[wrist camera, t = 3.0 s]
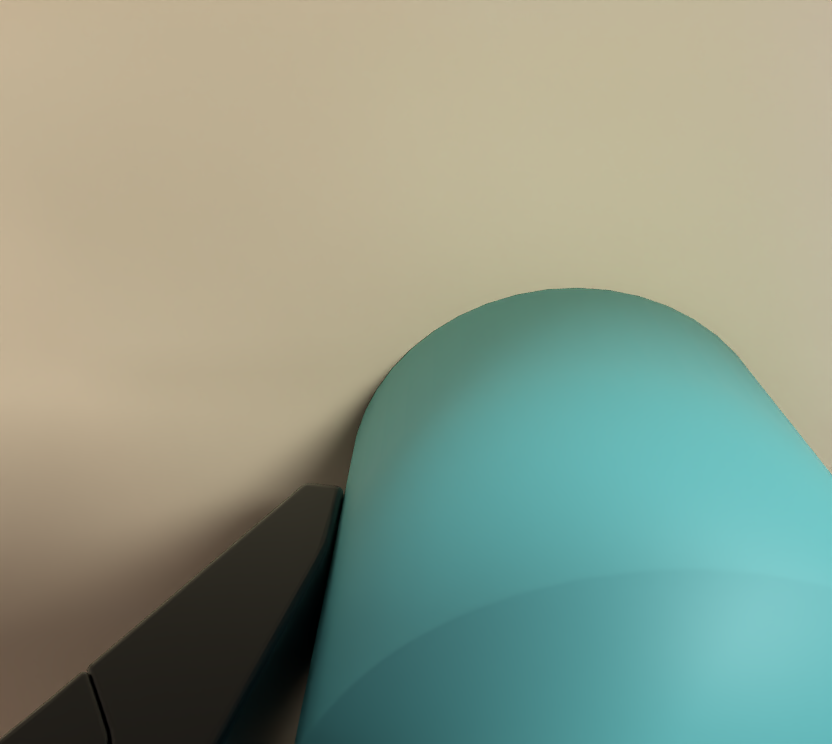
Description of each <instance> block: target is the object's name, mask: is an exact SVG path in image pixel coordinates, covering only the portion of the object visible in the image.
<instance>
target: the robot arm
mask: <svg viewBox="0 0 832 744" xmlns="http://www.w3.org/2000/svg"><path fill="white" fill-rule="evenodd" d="M343 499H344V493H343V490H342V489H341V488H340V487H338V486H330V485H319V484H305V485H303V486H302V487H300V488H299V489H298V490H297V491H296V492H294V493H293V494H292V495H291V496H290V497H288V498H287V499H286V500H285V501H284V502H283V503H281V504H280V505H279V506H278V507H277V508H275V509H274V510H273V511H272V512H271V513H270V514H268V515H267V516H266V517H265V518H264V519H262V520H261V521H260V522H259V523H258V524H257V525H255V526H254V527H253V528H252V529H251V530H249V531H248V532H247V533H246V534H245V535H244V536H242V537H241V538H240V539H239V540H238V541H236V542H235V543H234V544H233V545H232V546H231V547H229V548H228V549H227V550H226V551H225V552H223V553H222V554H221V555H220V556H219V557H218V558H216V559H215V560H214V561H213V562H212V563H210V564H209V565H208V566H207V567H206V568H204V569H203V570H202V571H201V572H200V573H199V574H197V575H196V576H195V577H194V578H193V579H191V580H190V581H189V582H188V583H187V584H186V585H184V586H183V587H182V588H181V589H180V590H178V591H177V592H176V593H175V594H174V595H173V596H171V597H170V598H169V599H168V600H167V601H165V602H164V603H163V604H162V605H161V606H160V607H158V608H157V609H156V610H155V611H154V612H152V613H151V614H150V615H149V616H148V617H147V618H145V619H144V620H143V621H142V622H141V623H139V624H138V625H137V626H136V627H135V628H134V629H132V630H131V631H130V632H129V633H128V634H126V635H125V636H124V637H123V638H122V639H121V640H119V641H118V642H117V643H116V644H115V645H113V646H112V647H111V648H110V649H109V650H107V651H106V652H105V653H104V654H103V655H102V656H100V657H99V658H98V659H97V660H96V661H94V662H93V663H92V664H91V665H90V666H89V667H88V670H87V672H88V673H86V672H82V673H80V674H79V675H77V676H76V677H75V678H74V679H73V680H71V681H70V682H69V683H68V684H67V685H66V686H64V687H63V688H62V689H61V690H60V691H58V692H57V693H56V694H55V695H54V696H53V697H51V698H50V699H49V700H48V701H46V702H45V703H44V704H43V705H41V706H40V707H39V708H38V709H37V710H35V711H34V712H33V713H32V714H30V715H29V716H28V717H27V718H25V719H24V720H23V721H22V722H20V723H19V724H18V725H17V726H15V727H14V728H13V729H12V730H10V731H9V732H8V733H7V734H5V735H4V736H3V737H2V738H0V744H294V743H295V738H296V733H297V728H298V723H299V718H300V713H301V708H302V703H303V698H304V693H305V688H306V683H307V678H308V673H309V668H310V663H311V658H312V653H313V648H314V643H315V638H316V634H317V629H318V624H319V619H320V614H321V609H322V604H323V599H324V594H325V589H326V584H327V579H328V574H329V569H330V564H331V559H332V554H333V549H334V544H335V539H336V534H337V529H338V524H339V519H340V514H341V509H342V504H343Z"/></svg>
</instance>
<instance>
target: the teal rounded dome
mask: <svg viewBox="0 0 832 744" xmlns="http://www.w3.org/2000/svg"><path fill="white" fill-rule="evenodd" d="M294 744H832V475H831V473H830V472H829V471H828V470H827V468H826V467H825V466H824V465H823V463H822V462H821V461H820V460H819V458H818V457H817V456H816V454H815V453H814V452H813V451H812V449H811V448H810V447H809V446H808V444H807V443H806V442H805V441H804V439H803V438H802V437H801V436H800V434H799V433H798V432H797V431H796V429H795V428H794V427H793V425H792V424H791V423H790V422H789V420H788V419H787V418H786V417H785V415H784V414H783V413H782V412H781V410H780V409H779V408H778V407H777V405H776V404H775V403H774V401H773V400H772V399H771V398H770V396H769V395H768V394H767V393H766V391H765V390H764V389H763V388H762V386H761V385H760V384H759V383H758V381H757V380H756V379H755V377H754V376H753V375H752V374H751V372H750V371H749V370H748V369H747V367H746V366H745V365H744V364H743V362H742V361H741V360H740V359H739V357H738V356H737V355H736V354H735V353H734V352H733V351H732V350H731V349H730V348H729V347H728V346H727V345H726V344H725V343H724V342H723V341H722V340H721V339H720V338H719V337H718V336H717V335H715V334H714V333H712V332H711V331H710V330H708V329H707V328H705V327H704V326H702V325H701V324H700V323H698V322H697V321H695V320H694V319H692V318H690V317H688V316H686V315H684V314H682V313H680V312H678V311H676V310H674V309H672V308H670V307H668V306H666V305H663V304H660V303H657V302H654V301H651V300H649V299H646V298H643V297H640V296H635V295H630V294H625V293H621V292H616V291H611V290H599V289H586V288H567V289H547V290H541V291H536V292H530V293H524V294H518V295H514V296H511V297H508V298H504V299H501V300H498V301H494V302H491V303H487V304H485V305H483V306H481V307H478V308H476V309H474V310H471V311H469V312H467V313H465V314H462V315H460V316H458V317H457V318H455V319H453V320H452V321H450V322H448V323H447V324H445V325H443V326H441V327H440V328H438V329H436V330H435V331H433V332H432V333H431V334H430V335H428V336H427V337H426V338H424V339H423V340H422V341H421V342H419V343H418V344H417V345H416V346H414V347H413V348H412V349H411V350H410V351H409V352H408V353H407V354H406V355H405V356H404V357H403V358H402V359H401V360H400V361H399V362H398V363H397V364H396V365H395V366H394V367H393V368H392V370H391V371H390V372H389V374H388V375H387V376H386V378H385V379H384V380H383V382H382V383H381V384H380V386H379V387H378V389H377V390H376V392H375V394H374V396H373V397H372V399H371V401H370V403H369V405H368V407H367V409H366V411H365V413H364V415H363V418H362V421H361V424H360V427H359V429H358V432H357V435H356V440H355V445H354V450H353V455H352V460H351V465H350V470H349V474H348V479H347V484H346V489H345V494H344V499H343V504H342V509H341V514H340V519H339V524H338V529H337V534H336V539H335V544H334V549H333V554H332V559H331V564H330V569H329V574H328V579H327V584H326V589H325V594H324V599H323V604H322V609H321V614H320V619H319V624H318V629H317V634H316V638H315V643H314V648H313V653H312V658H311V663H310V668H309V673H308V678H307V683H306V688H305V693H304V698H303V703H302V708H301V713H300V718H299V723H298V728H297V733H296V738H295V743H294Z"/></svg>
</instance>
